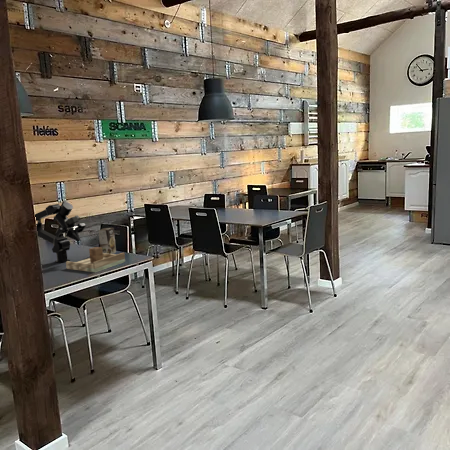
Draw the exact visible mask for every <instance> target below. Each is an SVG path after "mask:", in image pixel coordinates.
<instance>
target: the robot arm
mask: <svg viewBox="0 0 450 450" xmlns="http://www.w3.org/2000/svg"><path fill="white" fill-rule="evenodd" d="M73 209H74V206H73V204H71V203H69V202H68V201H67V200H64V201H62V202H61V204H60V203H56V204H50V205H48V206H46V207H45V209H44V210H41V211H39V212H37V213H34V214H35V217H36V221H37V223H35V224H36V225H37V231H38V236H37V237H39V238H41V239H43V240H45V241H46V242H48V243H50V244H52V245H53V247H52V248H51V251H52V253H54V254H55V253H56V260H54V262H55V263H59V264H62V263H66V262H67V261H70V262H71V259H69V258H68V253H67V251H70V249H71V241H70V239H73V240H74V241H77V242H80V241H81V239H80V233H82V232H83V231H84V230H85V228H86V223H84V222H81V223H78V222H80V220H81V217H80V216H79V215H75V216H72V217H71V216H70V217H69V218H68V216H69V215H70V214H71V212H72V210H73ZM52 215H54V216H53V222H56V221H57V223H58V224H59V227H58V228H57V230H56V232H55V235H54V234H53V233H50V232H48V231H46V230H45V229H43V226H42V225H43V224H42V219H44V218H47V217H49V216H52ZM36 221H35V222H36ZM77 223H78V224H77ZM64 234H65V236H64ZM68 238H70V239H68Z"/></svg>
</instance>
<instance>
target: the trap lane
mask: <svg viewBox="0 0 450 450" xmlns="http://www.w3.org/2000/svg"><path fill="white" fill-rule="evenodd" d="M125 255H126V254H125V252H121V253H117V254H116V253H114V254H107V253H103V259H101V260H98V261H95V262H93V263H91V262H90V257H88V258H85V259H82V260H78V261H71V260H70V261H66V262H65V264H66V265H65V267H66V269H67V270H74V271H82V272H91V273H98V272H101V271H103V270H106V269H109V268H111V267H115V266H118V265H121V264H123V263H126V258H125V257H126V256H125Z"/></svg>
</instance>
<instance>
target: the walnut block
mask: <svg viewBox="0 0 450 450" xmlns="http://www.w3.org/2000/svg"><path fill="white" fill-rule="evenodd" d="M88 251H89V258H90V262H91V263H93V262H95V261H98V260H101V259H103V252H102V247H100V246H95V247H91V248H89V249H88Z"/></svg>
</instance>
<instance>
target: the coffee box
mask: <svg viewBox="0 0 450 450" xmlns="http://www.w3.org/2000/svg"><path fill="white" fill-rule="evenodd" d="M115 237H116V236H115V227H104V228H101V229H99V230H98V238H99V247H102V252H103V253H107V254H116V253H117V248H116V239H115Z"/></svg>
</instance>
